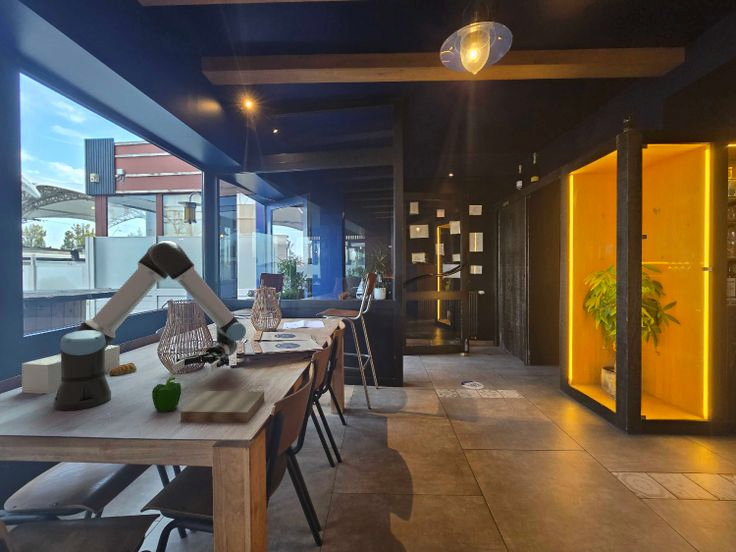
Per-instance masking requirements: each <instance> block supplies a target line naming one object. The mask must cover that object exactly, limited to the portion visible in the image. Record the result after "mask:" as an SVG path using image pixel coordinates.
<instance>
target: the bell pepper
mask: <svg viewBox="0 0 736 552" xmlns="http://www.w3.org/2000/svg"><path fill="white" fill-rule="evenodd" d="M174 380H176V376H172V377H169V378H168V379H167V380H166V383H165V384H162V383H159V384H156V386H154V387H153V388H152V391H151V399H152V402H153V406H154V409H155V410H156V411H158V412H165V413H166V412H171V411H173V410H175V409H176V408H177V407H178V405H179V402H180V398H181V394H182V393H181V392H182V385H181V383H180V382H174Z"/></svg>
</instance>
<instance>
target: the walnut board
mask: <svg viewBox="0 0 736 552" xmlns="http://www.w3.org/2000/svg"><path fill="white" fill-rule="evenodd" d="M264 401H265V391H259V390H258V391H247V390H242V391H241V390H238V391H237V390H206V391H205V392H204V393H202V394H201V395H200V396H199V397H198V398H196V399H194V400H193V401H192V402H191V403H190V404H189V405H187V406H186V407H184V408H183V409H182V410H180V414H179V415H180V417H179V419H180V422H193V421H195V423H196V422H198V421H200V422H199V423H201V422H202V423H203V421H205V422H204V423H206V422H209V423H210V422H212V423H213V422H214V423H248V422H249V420H251V418H252V416H253V415H254V414H255V413H256V411H257V410H258V409H259V408H260V406H261V405H262V403H264Z"/></svg>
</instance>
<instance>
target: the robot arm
mask: <svg viewBox="0 0 736 552" xmlns="http://www.w3.org/2000/svg"><path fill="white" fill-rule="evenodd" d="M168 277H169V278H170V279H171V280H172V281H177V283H178V284H179V286H181V287H182V288H183V290H185V292H186V293H187V294H188V295H189V296H190V297H191V299H192V300H194V302H195V303H196V304H197V305H198V306H199V307H200V308H201V309H202V310H203V312H204V313H205V314H206V315H207V316H208V318H210V320H212V322H213V323H214V324H215V325H216V343H215V344H214V345H212V346H211V347H208V348H207V349H206V350H205V352H204V353H200V354H199V353H197V352H196V353H193V354H191V355H187V356H183V357H179V358H176V360H175V361H176V362H175V363H173V372H174V373H175V372H178V371H179V370H181V369H183V368H184V367H185V366H189V365H193V364H194V365H195V364H199V365H200V364H210V372H212V373H213V372H214V371H216V370H217V369H219V368H221V367H224V366H227V367H228V366H230V358H229V357H231V356H232V355H233V354H234V353H235V352H236V351H237V349H238V341H241V340H242V339H244V338H245V336H246V334H247V333H246V332H247V329H246V326H245V325H244V324H243V323H241V322H240V321H239V320H238V319H237V317H235V314H233V313H232V312H231V311H230V310H229V308H228V307H227V306H226V305H225V304H224V302H223V301H222V300H221V299H220V298H219V296H218V295H217V294H216V293H215V292H214V291H213V289H212V288H211V287H210V286H209V285H208V284H207V282H206V281H205V280H204V279H203V277H201V276H200V274H199V273H198V272H197V270H196V268H195V264H194V262H192V260H191V259H190V258H189V256H188V255H187V253H186V252H185V251H184V249H183V248H182V247H181V246H180V245H179V244H178V243H176V242H174V241H167V240H165V241H159V242H156V243H154V244H152V245H151V246H150V247H149V248H148V249H147V251H146V253H145V254H144V255H142V257H141V258H140V259H139V261H138V262H137V268H136V270H135V271H134V272H133V273H132V275H131V276H130V277H129V278H128V279H127V280H126V281H125V282H124V284H122V286H121V287H120V288H119V289H118V290H117V291H116V293H114V294H113V295H112V296H111V298H110V299H109V300H108V301H107V302H106V303H105V304H104V305H103V306H102V308H101V309H100V310H99V311H98V312H97V314H95V316H94V317H93V318H90V319H85V320H84V321H82V323H81V324H80V325H79V326H78V327H77V328H76V330H74V331H72V332H70V333H66V334H64V335H62V338H61V340H60V344H59V347H60V354H61V384H60V387H59V389H58V391H56V395H55V397H54V400H53V407H54V408H53V409H54V410H58V411H77V410H83V409H89V408H93V407H95V406H99V405H102V404H105V403H107V402H108V401H109V400H111V399H112V391H111V389H110V386H109V383H108V381H107V378H106V374H105V349H106V348H107V346H108V345H110V344H111V343H112V342H113V340H115V338H116V330H117V329H118V328H119V327H120V326H121V325H122V323H124V321H125V320H126V319H127V318H128V316H129V315H130V314H131V313H132V312H133V311H134V310H135V309H136V307H137V306H138V305H139V304H140V303H141V302H142V300H143V299H144V298H145V297H146V296H147V295H148V294H149V292H150V291H152V289H153V288H154V287H155V286H156V284H157V283H158V282H160V281H165V280H166V279H167V278H168Z"/></svg>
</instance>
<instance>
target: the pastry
mask: <svg viewBox="0 0 736 552" xmlns="http://www.w3.org/2000/svg"><path fill="white" fill-rule="evenodd" d="M137 370H138V369H137V366H136V364H135V363H133V362H129V363H124V364H120V366H119V367H117V368H114V369H113V370H111V371H110V373H109V375H110V376H122V374H123V375H127V374H133V373H135V372H136V371H137Z"/></svg>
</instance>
